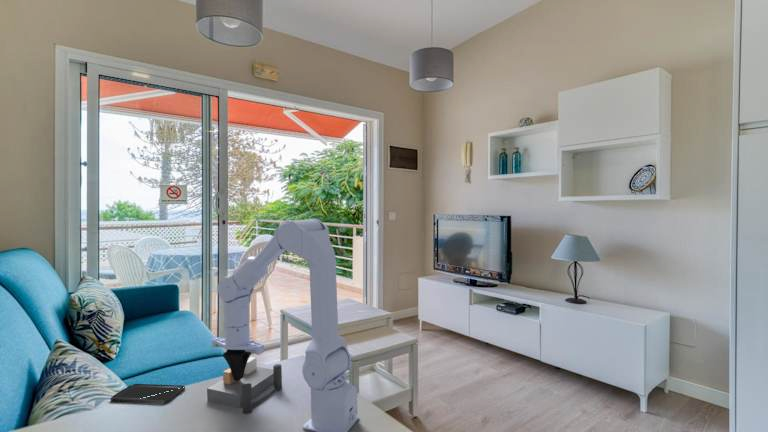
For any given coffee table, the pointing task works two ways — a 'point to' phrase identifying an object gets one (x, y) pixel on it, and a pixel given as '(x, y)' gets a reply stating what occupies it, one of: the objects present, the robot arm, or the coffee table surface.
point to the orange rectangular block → (228, 377)
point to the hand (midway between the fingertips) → (238, 378)
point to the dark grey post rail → (277, 387)
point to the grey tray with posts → (233, 392)
